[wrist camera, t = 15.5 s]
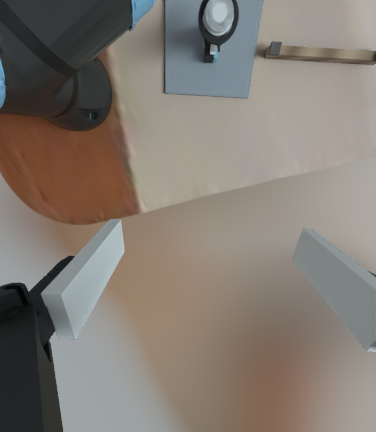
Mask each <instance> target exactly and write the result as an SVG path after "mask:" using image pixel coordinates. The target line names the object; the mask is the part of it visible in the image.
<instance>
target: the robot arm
mask: <svg viewBox="0 0 376 432" xmlns="http://www.w3.org/2000/svg"><path fill="white" fill-rule="evenodd" d="M155 1H156V0H0V113H3V114H14V115H23V116H32V117H42V118H45V119H46V120H48V121H50V122H51V123H53V124H55V125H57V126H59V127H61V128H64V129H67V130H72V131H87V130H91V129H94V128H96V127H97V126H99V125H100V124H101V123H102V122H103V121H104V120H105V118H106V117H107V115H108V113H109V110H110V107H111V102H112V89H111V83H110V79H109V76H108V74H107V71H106V69H105V67H104V65H103V64H102V62H101V60H100V59H99V58H98V55H99V54H100V53H102V52H103V51H104V50H105V49H106V48H108V47H109V46H110V45H111V44H112V43H113V42H115V41H116V40H117V39H118V38H119V37H120V36H122V35H123V34H124V33H125V32H126V31H127V30H129V31H131V30H133V29H134V27H135V25H136V23H137V22H138V21H139V20H140V19H141V18H142V17H143V16H144V15H145V14H146V13H147V12H148V11H149V10H150V9H151V8H152V7H153V5H154V3H155ZM123 253H124V243H123V234H122V226H121V220H119V219H110V220H109V221H108V222H107V223H106V224H105V225H104V226H103V227H102V228H101V229H100V230H99V232H98V233H97V234H96V235H95V236H94V237H93V238H92V239H91V240H90V241H89V242H88V243H87V244H86V246H85V247H84V248H83V249H82V250H81V251H80V252H79V253H78V254H77V255H76V256H68V257H67V258H65V259H63V260H62V261H60V262H59V263H58V264H57V265H56V266H55V267H54V268H53V270H51V271H50V272H49V273H48V274H47V276H45V277H44V278H43V279H42V280H40V281H39V282H38V283H37V284H36V285H35V286H34V287H33V288H32V289H31V290H30V291H29V292H28V290H27V287H26V286H25V284H23V283H10V284H6V285H3V286H0V432H63V426H62V419H61V413H60V406H59V399H58V392H57V385H56V378H55V371H54V364H53V358H52V350H51V344H50V341H49V339H50V337H51V336H52V335H53V333H54V332H56V334H57V337H58V339H67V340H76V338H77V337H78V335H79V333H80V331H81V329H82V328H83V326H84V324H85V322H86V320H87V319H88V317H89V315H90V313H91V311H92V310H93V308H94V306H95V304H96V302H97V300H98V298H99V297H100V295H101V293H102V291H103V289H104V288H105V286H106V284H107V282H108V280H109V279H110V277H111V275H112V273H113V271H114V270H115V268H116V266H117V264H118V262H119V261H120V259H121V257H122V255H123ZM292 260H293V261H294V263H295V264H296V265H297V266H298V267H299V269H300V270H301V271H302V272H303V273H304V275H305V276H306V277H307V279H308V280H309V281H310V282H311V283H312V285H313V286H314V287H315V288H316V290H317V291H318V292H319V293H320V294H321V296H322V297H323V298H324V299H325V301H326V302H327V303H328V304H329V305H330V307H331V308H332V309H333V311H334V312H335V313H336V314H337V315H338V317H339V318H340V319H341V320H342V322H343V323H344V324H345V325H346V326H347V328H348V329H349V330H350V331H351V333H352V334H353V335H354V336H355V338H356V339H357V340H358V341H359V343H360V344H361V345H362V346H363V347H364V349H365V350H366V351H368V352H376V275H375V274H373V273H371V272H369V271H367V270H366V269H364V268H363V267H362V266H360V265H359V264H358V263H357V262H355V261H354V260H353V259H352V258H350V257H349V256H348V255H346V254H345V253H344V252H342V251H341V250H340V249H339V248H337V247H336V246H335V245H333V244H332V243H331V242H329V241H328V240H327V239H326V238H324V237H323V236H322V235H320V234H319V233H318V232H317V231H315V230H314V229H305V228H303V230H302V232H301V235H300V238H299V241H298V244H297V246H296V249H295V252H294V255H293V258H292Z"/></svg>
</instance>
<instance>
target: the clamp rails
mask: <svg viewBox="0 0 376 432" xmlns="http://www.w3.org/2000/svg"><path fill="white" fill-rule="evenodd" d="M281 44H282V42H272V43H271V45H270V46H269V47H268V48H267V49H266V53H265V58H268V59H284V60H301V61H317V62H334V63H350V64H366V65H374V64H376V51H363V50H346V49H330V48H314V47H298V46H282V45H281Z"/></svg>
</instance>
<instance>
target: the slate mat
mask: <svg viewBox="0 0 376 432" xmlns="http://www.w3.org/2000/svg"><path fill="white" fill-rule="evenodd" d="M202 1H203V0H165V93H166V94H182V95H199V96H216V97H233V98H248V95H249V88H250V82H251V76H252V69H253V63H254V57H255V50H256V44H257V38H258V31H259V25H260V19H261V12H262V6H263V0H236V1H237V4H238V8H239V20H238V24H237V27H236V30H235V32H234V34H233V35H232V36H231V38H230V39H229V40H228V41H226V42H225V43H224V44H221V48H220V52H217V60H216V63H204V54H205V47H204V49H203V40H204V38H203V37H202V34H201V32H200V29H199V24H198V14H199V8H200V5H201V3H202ZM203 25H204V15H203ZM231 27H232V25H231ZM231 27H230V28H229V30H228V32H229V31H230V29H231ZM228 32H227V33H228Z"/></svg>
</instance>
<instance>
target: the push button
mask: <svg viewBox="0 0 376 432" xmlns="http://www.w3.org/2000/svg"><path fill="white" fill-rule="evenodd" d="M203 15H204V25H203ZM238 20H239V8H238V4H237V1H236V0H203V1H202V3H201V5H200V8H199V14H198V24H199V29H200V32H201V34H202V37H203V38H204V40H203V49H204V47H205V54H204V63H216V60H217V52H220V48H221V44H224V43H225V42H226V41H228V40H229V39H230V38H231V36H232V35H233V34H234V32H235V30H236V27H237V24H238ZM231 25H232V27H231ZM230 27H231V29H230V31H229V32H228V30H229V28H230ZM227 32H228V33H227Z"/></svg>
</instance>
